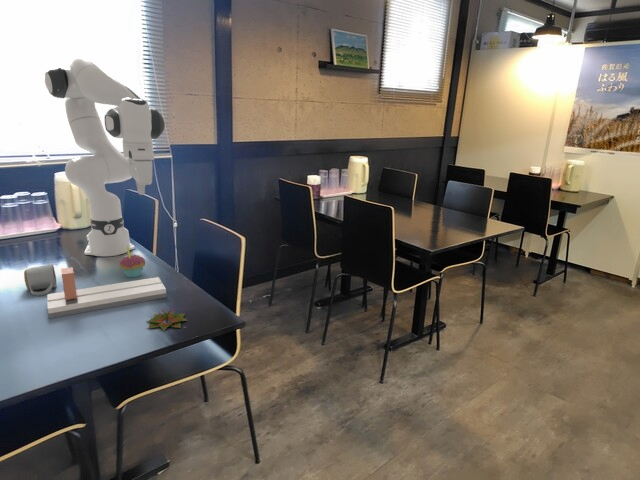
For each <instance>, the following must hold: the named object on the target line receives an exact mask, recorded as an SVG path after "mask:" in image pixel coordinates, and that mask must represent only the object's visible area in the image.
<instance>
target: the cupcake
mask: <svg viewBox="0 0 640 480" xmlns="http://www.w3.org/2000/svg"><path fill="white" fill-rule="evenodd" d="M126 253H127V256H124V257H123V258H122V259H120V261H119V268H120V269H122V270H123V272H124V273H125V275H126V277H127V278H137V277H140V276H141V275H142V271H143V269H144V267H145V266H146V259H145V258H144V257H142V256H140V255H137V254H131V252H130V250H129V247H128V246H127V252H126Z"/></svg>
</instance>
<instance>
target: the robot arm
mask: <svg viewBox="0 0 640 480" xmlns="http://www.w3.org/2000/svg"><path fill="white" fill-rule="evenodd" d="M44 76H45V77H44V83H45V87H46V89H47V90H48V92H49V94H50V95H51V96H52V97H54V98H57V99H58V98H59V99H65V103H64V105H65V112H66V117H67V122H68V125H69V126H70V127H69V128H70V131H71V134H72V136H73V138H74V141H75V144H76V145H77V146H78V147H79V148H81V149H83V150H85V151H87V152H89V153H91V154H92V155H86V156H85V155H84V156H79V157H76V158H72V159H71V158H70V159H69V160H68V161H67V162H66V163H65V167H64V173H65V176H66V179H67V180H68V181H69V182H70V183H71V184H72V185H74V186H75V187H78V188H79V189H80V190H81V192H83V193H84V194H85V196H86V198H87V200H88V204H89V205H88V206H89V210H90V217H91V218H90V221H89V222H90V228H91V230H90V231H89V232H88V234H86V241H88V242H87V245H86V248H85V250H84V255H85V256H87V255H88V256H89V255H90V256H96V257H112V256H113V257H114V256H119V255H122V254H126V253H128V252H127V246H128V247H129V251H132V250H135V249H136V247H135V245H134V244H133V243H132V242H131V241H130V240H131V239H130V234H129V230H128V229H127V228H126V227H125V223H124V222H125V220H124V217H123V216H122V215H123V214H122V205H121V203H122V202H121V199H120V198H119V197H118V196H117V194H114V193H113V192H110V191H107V189H106V187H105V186H106V184H114V183H122V182H126V181H128V180H130V179H132V178H133V179H134V180H135V185H136V189H137V193H138V195H140V196H142V195H145V194H146V191H145V189H146V186H147V185H148V186H149V185H152V182H153V161H154V160H155V154H154V144H153V143H154V142H153V140H156V139H158V138H159V137H160V136H161V135H162V134H163V133H164V131H165V126H166V125H165V124H166V123H165V119H164V117H163V115H162V114H161V113H160V112H159V111H158V110H157V109H156V108H154V107H151V106H149V103H148V101H146V100H145V99H142V98H141V97H140V96H138V95H137V94H136V93H135V92H134V91H133V90H131V89H130V88H129V87H127V86H126V85H124V84H123V83H121V82H119V81H117V79H115V78H113V76H111V75H110V74H108V72H107V71H106V70H105V69H104V68H103V67H102V65H100V64H99V63H98V62H97V61H96V60H95V59H93V58H91V57H90V56H87V55H77V56H75V57H74V58H72V59H71V61H70V63H69V66H66V67H60V66H59V67H56V66H55V67H51V68H49V69H48V70H47V71H46V72H45V74H44ZM96 104H101V105H110V106H115V107H114V108H110V109H108V111H107V112H105V114H104V126H105V129H104V126H103V123H102V120H101V118H100V115H99V113H98V110H97V108H96ZM105 130H106V131H105ZM106 132H107V133H108V134H109V135H110V136H112V137H113V138H116V139H122V150H123V151H122V152H123V153H122V152H121V151H120V150H118V149H117V148H116V147H115V146H114V145H113V143H111V141H110V140H109V138H108V136H107V134H106Z"/></svg>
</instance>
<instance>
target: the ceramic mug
mask: <svg viewBox="0 0 640 480" xmlns="http://www.w3.org/2000/svg"><path fill="white" fill-rule="evenodd" d="M23 276H24V283H25V287H26V289H27V290H29V291H30V293H31V294H32V295H33V296H37V297H38V296H39V297H41V296H46V295H47V294H50V292H51V291H52V289H54V288H57V286H58V284H57V276H56V271H55V266H54V264H53V263H49V264H44V265H39V266H34V267H29V268H26V269H25V270H24V271H23ZM37 290H42V291H37Z"/></svg>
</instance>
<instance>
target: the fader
mask: <svg viewBox="0 0 640 480" xmlns="http://www.w3.org/2000/svg"><path fill="white" fill-rule="evenodd" d="M73 267H74V266H71V267H66V268H65V267H64V268H60V272H61V279H62V287H63V292H64V294H65V300H69V299H75V298H77V294H76V290H77V288H76V279H75V273H74V268H73Z"/></svg>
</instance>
